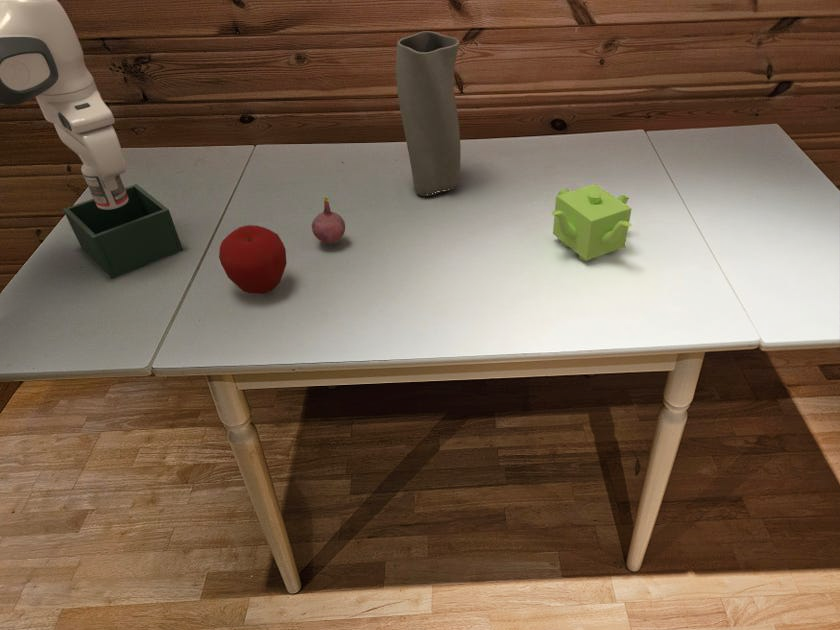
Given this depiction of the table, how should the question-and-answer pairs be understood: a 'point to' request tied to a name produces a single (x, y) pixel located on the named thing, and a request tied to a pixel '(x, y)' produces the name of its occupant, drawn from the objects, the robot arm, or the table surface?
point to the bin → (125, 232)
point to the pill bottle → (103, 189)
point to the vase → (429, 109)
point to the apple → (253, 259)
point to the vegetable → (328, 225)
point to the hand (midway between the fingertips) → (104, 182)
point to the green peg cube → (591, 221)
